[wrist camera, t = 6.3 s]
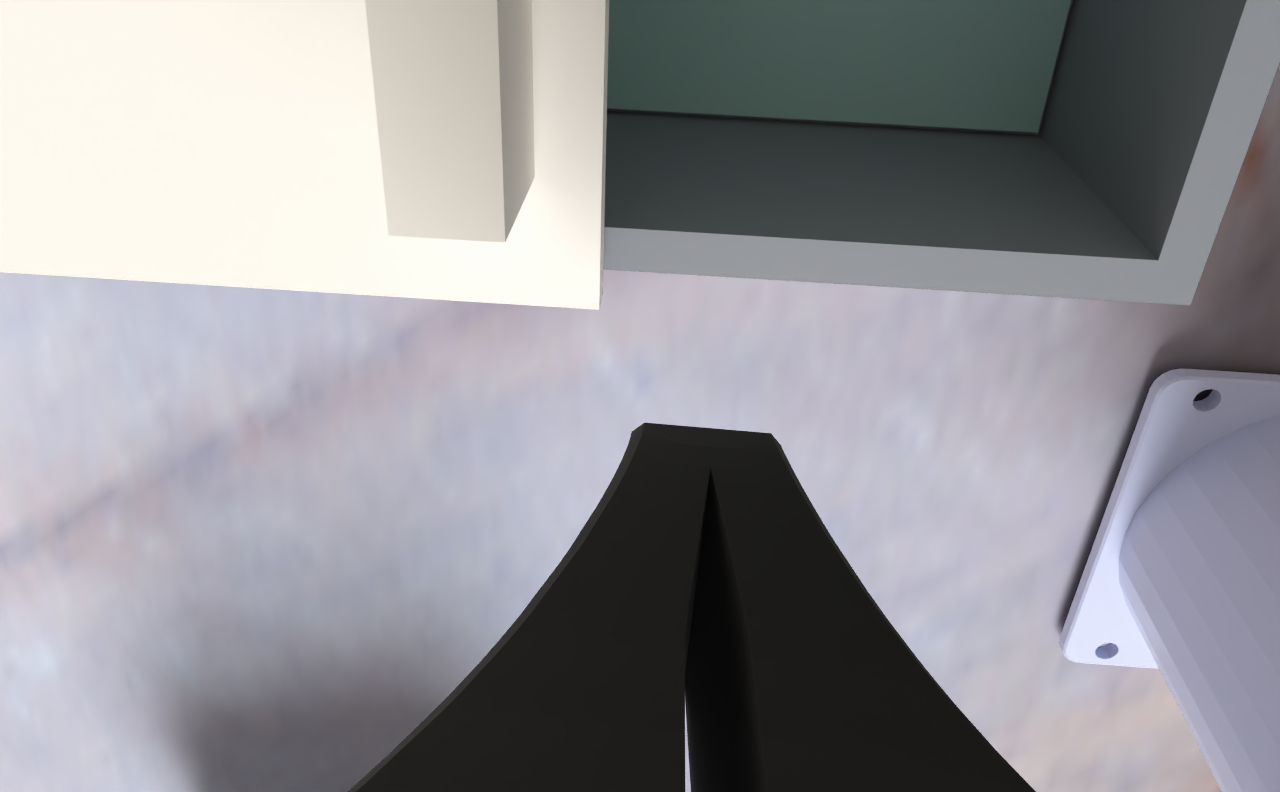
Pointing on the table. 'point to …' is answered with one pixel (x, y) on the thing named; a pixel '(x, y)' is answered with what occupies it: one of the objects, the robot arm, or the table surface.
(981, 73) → the mailer box
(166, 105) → the lid
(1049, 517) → the table surface
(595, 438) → the table surface
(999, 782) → the robot arm
